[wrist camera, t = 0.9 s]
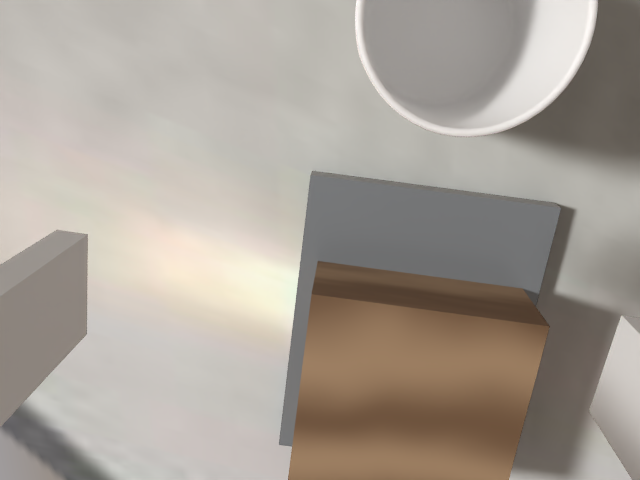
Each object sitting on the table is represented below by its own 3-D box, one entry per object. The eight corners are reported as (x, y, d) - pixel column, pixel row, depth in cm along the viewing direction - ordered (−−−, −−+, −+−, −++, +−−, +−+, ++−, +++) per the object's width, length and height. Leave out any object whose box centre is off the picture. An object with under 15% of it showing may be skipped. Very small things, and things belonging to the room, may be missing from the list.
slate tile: (312, 170, 34) (310, 174, 33) (554, 202, 34) (561, 207, 32) (281, 433, 39) (278, 444, 38) (488, 462, 39) (492, 474, 38)
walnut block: (317, 260, 34) (311, 294, 29) (522, 288, 34) (549, 326, 29) (295, 433, 38) (286, 488, 33) (480, 459, 38) (498, 518, 33)
